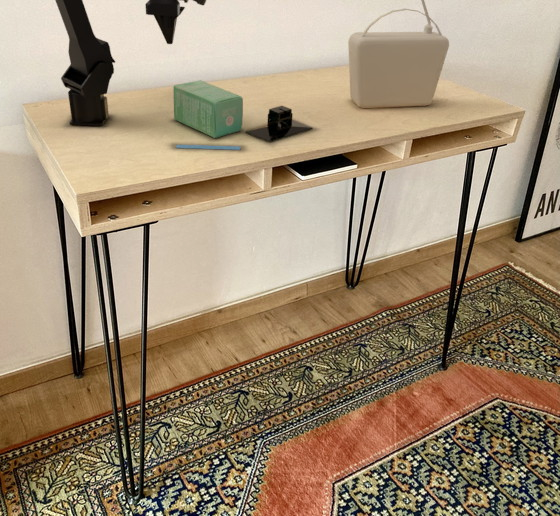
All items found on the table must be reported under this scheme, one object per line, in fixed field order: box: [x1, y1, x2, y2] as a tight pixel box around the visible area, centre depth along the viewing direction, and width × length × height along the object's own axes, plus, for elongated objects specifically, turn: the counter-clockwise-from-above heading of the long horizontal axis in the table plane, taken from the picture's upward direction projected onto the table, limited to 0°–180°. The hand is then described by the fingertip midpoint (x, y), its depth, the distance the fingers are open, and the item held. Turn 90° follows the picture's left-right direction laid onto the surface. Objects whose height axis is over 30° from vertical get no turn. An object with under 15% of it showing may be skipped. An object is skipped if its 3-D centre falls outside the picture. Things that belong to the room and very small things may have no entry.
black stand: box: [245, 105, 313, 144], centre depth 126 cm, size 12×7×5 cm, turn 134°
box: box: [172, 79, 244, 139], centre depth 126 cm, size 7×14×8 cm, turn 45°
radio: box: [347, 0, 450, 109], centre depth 140 cm, size 22×8×25 cm, turn 104°
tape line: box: [175, 144, 241, 151], centre depth 118 cm, size 12×2×1 cm, turn 92°
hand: (169, 43), depth 133 cm, fingers closed
